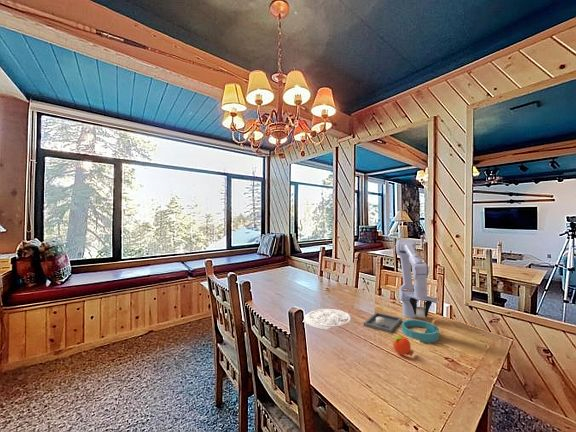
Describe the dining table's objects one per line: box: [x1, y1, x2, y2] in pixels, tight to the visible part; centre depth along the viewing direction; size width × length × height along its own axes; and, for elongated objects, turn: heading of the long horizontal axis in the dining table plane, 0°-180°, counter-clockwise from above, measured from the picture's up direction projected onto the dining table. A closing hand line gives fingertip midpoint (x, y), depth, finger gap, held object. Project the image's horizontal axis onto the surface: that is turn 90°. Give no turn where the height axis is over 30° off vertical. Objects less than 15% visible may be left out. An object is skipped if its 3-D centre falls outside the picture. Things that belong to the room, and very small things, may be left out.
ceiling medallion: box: [303, 308, 352, 331], centre depth 147 cm, size 28×28×3 cm
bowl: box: [401, 319, 440, 344], centre depth 126 cm, size 16×16×4 cm
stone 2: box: [416, 306, 427, 319], centre depth 129 cm, size 4×4×4 cm
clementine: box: [392, 335, 412, 355], centre depth 110 cm, size 8×7×7 cm
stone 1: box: [376, 317, 385, 327], centre depth 135 cm, size 4×4×4 cm
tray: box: [363, 312, 403, 334], centre depth 138 cm, size 18×14×2 cm
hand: (420, 314), depth 129 cm, fingers closed on stone 2, 4 cm apart
